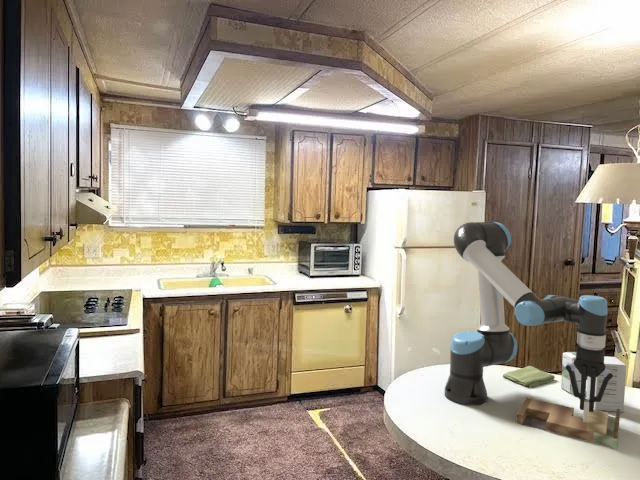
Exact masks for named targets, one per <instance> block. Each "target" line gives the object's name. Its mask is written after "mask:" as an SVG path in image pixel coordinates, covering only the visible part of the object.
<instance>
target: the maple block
mask: <svg viewBox="0 0 640 480" xmlns="http://www.w3.org/2000/svg"><path fill="white" fill-rule="evenodd" d="M608 416H609V412H608V411H607V412H606V411H604V410H595V409H594V410H593V412H589V413H588V422H587V430H588V431H592V432H596V433H600V434H604V435H606V433H607V425H608Z"/></svg>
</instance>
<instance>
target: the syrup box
mask: <svg viewBox="0 0 640 480" xmlns="http://www.w3.org/2000/svg"><path fill="white" fill-rule="evenodd" d="M575 359H576V351H566V352H562V364H561V367H562V368H561V389H562V390H564V391H565V392H566V393H568V394H570V395H574V394H573V389H572V385H571V380H570V375H569V372H568V371H567V369H566V365H567V364H571V363H574V360H575ZM574 372H575V377H576V381H577V386H578V390H579V393H581V374H580V373H579V371H578V370H577V368H576V367H575V370H574Z"/></svg>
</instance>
